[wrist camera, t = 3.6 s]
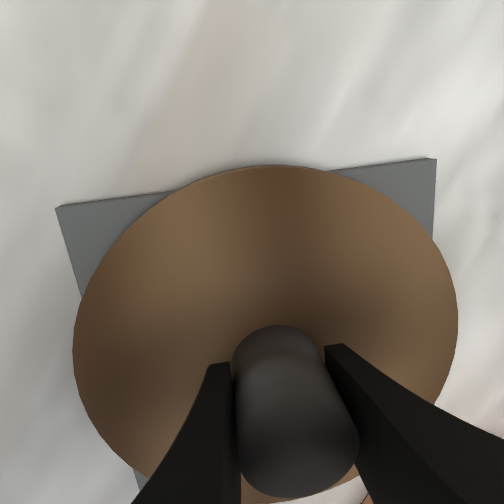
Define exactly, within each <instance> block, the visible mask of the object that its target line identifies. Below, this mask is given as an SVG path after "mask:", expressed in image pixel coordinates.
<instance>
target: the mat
mask: <svg viewBox="0 0 504 504" xmlns="http://www.w3.org/2000/svg"><path fill="white" fill-rule="evenodd" d="M436 165H437V159H430V158H426V159H418V160H410V161H403V162H395V163H387V164H379V165H371V166H364V167H356V168H348V169H340V170H333V171H325V172H330V173H334V174H337V175H341V176H344V177H346V178H349V179H351V180H354V181H357V182H359V183H362V184H365V185H367V186H369V187H371V188H373V189H374V190H376V191H378V192H380V193H382V194H383V195H385V196H387V197H389V198H390V199H392V200H393V201H394V202H396V203H397V204H398V205H399V206H401V207H402V208H403V209H405V210H406V211H407V212H408V213H410V214H411V215H412V216H413V217H414V219H415V220H416V221H417V222H418V223H419V224H420V225H421V226H422V227H423V228H424V229H425V230H426V231H427V233H428V234H429V236H430V237H431V239H432V235H433V218H434V200H435V182H436ZM173 192H175V191H169V192H161V193H154V194H146V195H138V196H130V197H123V198H115V199H107V200H99V201H91V202H84V203H76V204H68V205H61V206H59V207H57V208H55V211H56V214H57V217H58V221H59V224H60V227H61V231H62V234H63V237H64V241H65V244H66V247H67V251H68V254H69V257H70V261H71V264H72V267H73V270H74V274H75V277H76V280H77V284H78V287H79V290H80V294H81V297H83V295H84V292H85V290H86V288H87V285H88V283H89V280H90V278H91V277H92V275H93V273H94V272H95V270H96V268H97V267H98V265H99V263H100V262H101V260H102V259H103V257H104V255H105V254H106V253H107V252H108V251H109V249H110V248H111V247H112V246H113V245H114V243H115V242H116V241H117V240H118V239H119V237H120V236H121V235H122V234H123V233H124V232H125V231H126V230H127V229H128V228H129V227H130V226H131V225H132V224H133V223H134V222H135V221H136V220H137V219H138V218H140V217H141V216H142V215H143V214H144V213H145V212H146V211H147V210H148V209H149V208H151V207H152V206H154V205H155V204H157V203H158V202H160V201H161V200H163V199H164V198H166V197H167V196H168V195H170V194H171V193H173ZM133 470H134V473H135V476H136V480H137V483H138V486H139V490H140V491H141V490H142V488H143V487H144V485H145V484H146V483H147V481H148V480H149V478H147V477H145V476H144V475H142V474H141V473H140V472H138V471H137V470H135V469H134V468H133Z"/></svg>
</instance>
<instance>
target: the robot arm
mask: <svg viewBox="0 0 504 504" xmlns="http://www.w3.org/2000/svg"><path fill="white" fill-rule="evenodd" d="M324 356H325V366H326V368H327V370H328V372H329V374H330V376H331V378H332V380H333V382H334V384H335V386H336V388H337V390H338V392H339V394H340V396H341V398H342V400H343V402H344V404H345V406H346V408H347V410H348V412H349V414H350V416H351V418H352V420H353V422H354V424H355V426H356V428H357V430H358V434H359V440H360V445H359V452H358V455H357V458H356V461H355V462H354V464H355V466H356V468H357V470H358V472H359V475H360V477H361V479H362V481H363V483H364V485H365V487H366V489H367V491H368V493H369V495H370V497H371V499H372V501H373V504H504V439H502V438H499V437H497V436H495V435H493V434H491V433H488V432H486V431H484V430H482V429H479V428H477V427H475V426H473V425H471V424H469V423H467V422H465V421H463V420H461V419H459V418H457V417H455V416H453V415H451V414H450V413H448V412H446V411H444V410H442V409H440V408H438V407H436V406H435V405H433V404H431V403H429V402H428V401H426V400H424V399H423V398H421V397H419V396H418V395H416V394H414V393H413V392H411V391H410V390H408V389H406V388H405V387H403V386H402V385H400V384H399V383H397V382H396V381H394V380H393V379H391V378H390V377H388V376H387V375H385V374H384V373H383V372H381V371H380V370H378V369H377V368H376V367H374V366H373V365H372V364H370V363H369V362H367V361H366V360H365V359H363V358H362V357H361V356H359V355H358V354H357V353H355V352H354V351H353V350H352V349H350V348H349V347H348V346H346V345H345V344H343V343H339V344H333V345H326V346H324ZM131 504H241V470H240V467H239V461H238V448H237V435H236V422H235V409H234V394H233V381H232V375H231V369H230V363H229V361H228V362H221V363H215V364H210V365H209V366H208V367H207V370H206V373H205V376H204V379H203V382H202V384H201V387H200V389H199V392H198V394H197V396H196V398H195V401H194V403H193V405H192V407H191V409H190V411H189V413H188V415H187V417H186V419H185V421H184V423H183V425H182V427H181V429H180V430H179V432H178V434H177V436H176V438H175V440H174V441H173V443H172V445H171V446H170V448H169V450H168V451H167V453H166V455H165V456H164V458H163V459H162V461H161V462H160V464H159V465H158V467H157V468H156V470H155V471H154V473H153V474H152V476H151V477H150V479H149V480H148V481H147V483H146V484H145V485H144V487H143V488H142V490H141V491H140V492H139V494H138V495H137V496H136V498H135V499H134V500H133V502H132V503H131Z"/></svg>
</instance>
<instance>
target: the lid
mask: <svg viewBox="0 0 504 504" xmlns="http://www.w3.org/2000/svg"><path fill="white" fill-rule="evenodd" d="M457 335H458V309H457V302H456V294H455V289H454V286H453V282H452V279H451V276H450V272H449V270H448V267H447V265H446V263H445V261H444V259H443V257H442V255H441V252H440V250H439V249H438V247H437V246H436V245H435V243H434V242H433V240H432V239H431V237H430V236H429V234H428V233H427V231H426V230H425V229H424V228H423V227H422V226H421V225H420V224H419V223H418V222H417V221H416V220H415V219H414V217H413V216H412V215H411V214H410V213H408V212H407V211H406V210H405V209H403V208H402V207H401V206H399V205H398V204H397V203H396V202H394V201H393V200H392V199H390V198H389V197H387V196H385V195H383V194H382V193H380V192H378V191H376V190H374V189H373V188H371V187H369V186H367V185H365V184H362V183H359V182H357V181H354V180H351V179H349V178H346V177H344V176H341V175H337V174H334V173H330V172H325V171H321V170H316V169H312V168H307V167H299V166H287V165H266V166H250V167H245V168H240V169H235V170H229V171H224V172H221V173H218V174H215V175H212V176H209V177H206V178H203V179H200V180H197V181H195V182H193V183H191V184H189V185H187V186H185V187H183V188H181V189H179V190H177V191H175V192H173V193H171V194H170V195H168V196H167V197H166V198H164V199H163V200H161V201H160V202H158V203H157V204H155V205H154V206H152V207H151V208H149V209H148V210H147V211H146V212H145V213H144V214H143V215H142V216H141V217H140V218H138V219H137V220H136V221H135V222H134V223H133V224H132V225H131V226H130V227H129V228H128V229H127V230H126V231H125V232H124V233H123V234H122V235H121V236H120V237H119V239H118V240H117V241H116V242H115V243H114V245H113V246H112V247H111V248H110V249H109V251H108V252H107V253H106V254H105V255H104V257H103V259H102V260H101V262H100V263H99V265H98V267H97V268H96V270H95V272H94V273H93V275H92V277H91V278H90V280H89V283H88V285H87V288H86V290H85V292H84V295H83V297H82V300H81V302H80V305H79V310H78V314H77V318H76V322H75V326H74V337H73V350H72V353H73V364H74V375H75V379H76V383H77V387H78V391H79V395H80V398H81V400H82V403H83V405H84V407H85V410H86V412H87V414H88V417H89V418H90V420H91V421H92V423H93V425H94V426H95V428H96V429H97V431H98V433H99V434H100V436H101V437H102V438H103V439H104V440H105V442H106V443H107V444H108V445H109V446H110V448H111V449H112V450H113V451H114V452H115V453H116V454H117V455H118V456H119V457H121V458H122V459H123V460H124V461H125V462H126V463H127V464H128V465H129V466H131V467H132V468H134V469H135V470H137V471H138V472H140V473H141V474H142V475H144V476H145V477H147V478H149V479H150V477H151V476H152V474H153V473H154V471H155V470H156V468H157V467H158V465H159V464H160V462H161V461H162V459H163V458H164V456H165V455H166V453H167V451H168V450H169V448H170V446H171V445H172V443H173V441H174V440H175V438H176V436H177V434H178V432H179V430H180V429H181V427H182V425H183V423H184V421H185V419H186V417H187V415H188V413H189V411H190V409H191V407H192V405H193V403H194V401H195V398H196V396H197V394H198V392H199V389H200V387H201V384H202V382H203V379H204V376H205V373H206V370H207V367H208V366H209V365H210V364H215V363H221V362H228V361H229V363H230V369H231V375H232V381H233V394H234V409H235V422H236V435H237V448H238V461H239V467H240V470H241V504H269V503H277V502H284V501H291V500H295V499H299V498H303V497H307V496H311V495H314V494H317V493H320V492H323V491H326V490H329V489H332V488H334V487H336V486H338V485H341V484H343V483H345V482H347V481H350V480H352V479H353V478H355V477H357V476H359V472H358V470H357V468H356V466H355V464H354V462H355V461H356V458H357V455H358V452H359V445H360V440H359V434H358V430H357V428H356V426H355V424H354V422H353V420H352V418H351V416H350V414H349V412H348V410H347V408H346V406H345V404H344V402H343V400H342V398H341V396H340V394H339V392H338V390H337V388H336V386H335V384H334V382H333V380H332V378H331V376H330V374H329V372H328V370H327V368H326V366H325V356H324V346H326V345H333V344H339V343H343V344H345V345H346V346H348V347H349V348H350V349H352V350H353V351H354V352H355V353H357V354H358V355H359V356H361V357H362V358H363V359H365V360H366V361H367V362H369V363H370V364H372V365H373V366H374V367H376V368H377V369H378V370H380V371H381V372H383V373H384V374H385V375H387V376H388V377H390V378H391V379H393V380H394V381H396V382H397V383H399V384H400V385H402V386H403V387H405V388H406V389H408V390H410V391H411V392H413V393H414V394H416V395H418V396H419V397H421V398H423V399H424V400H426V401H428V402H429V403H431V404H433V405H434V403H435V401H436V400H437V398H438V396H439V395H440V393H441V390H442V388H443V386H444V384H445V381H446V379H447V377H448V374H449V371H450V368H451V365H452V361H453V358H454V354H455V348H456V342H457Z"/></svg>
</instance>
